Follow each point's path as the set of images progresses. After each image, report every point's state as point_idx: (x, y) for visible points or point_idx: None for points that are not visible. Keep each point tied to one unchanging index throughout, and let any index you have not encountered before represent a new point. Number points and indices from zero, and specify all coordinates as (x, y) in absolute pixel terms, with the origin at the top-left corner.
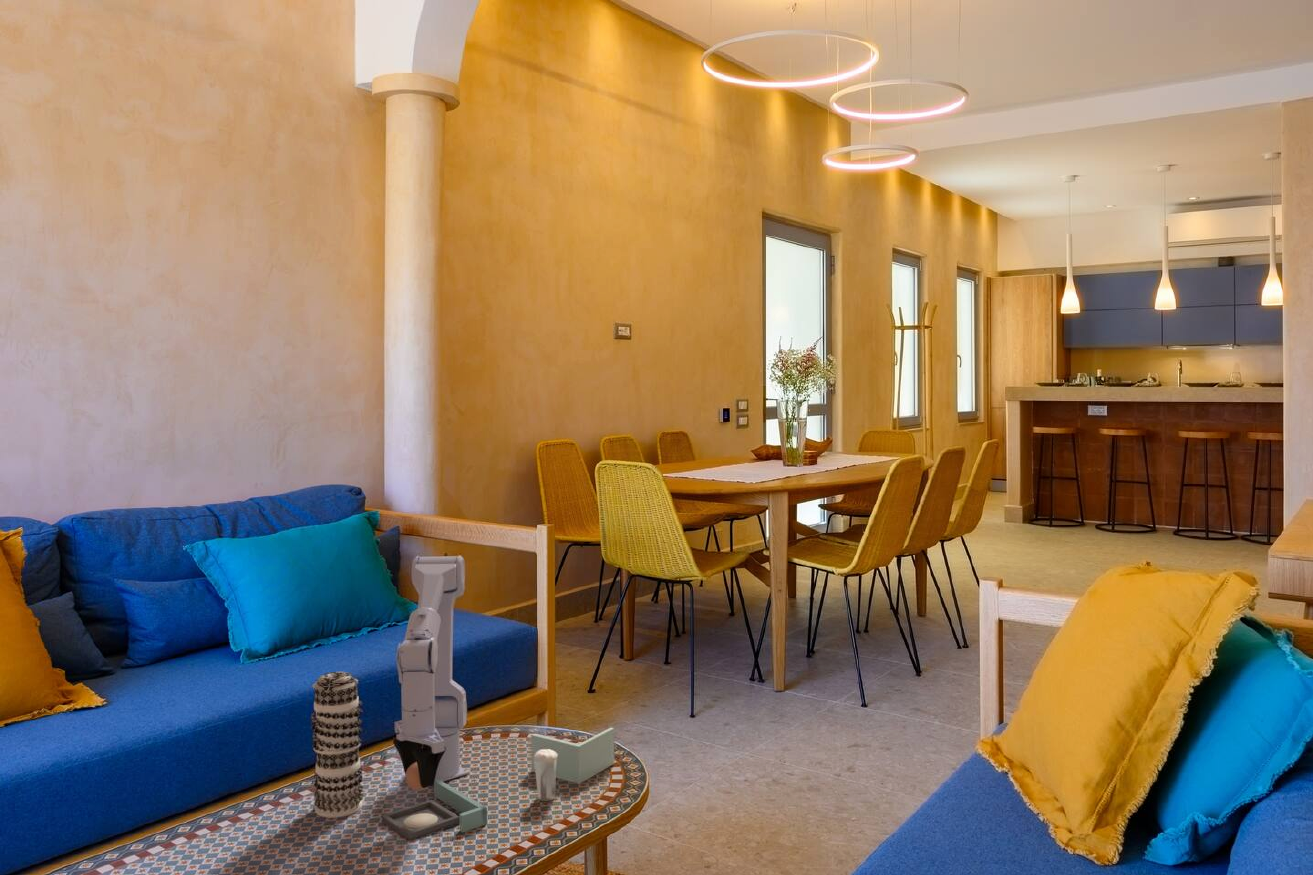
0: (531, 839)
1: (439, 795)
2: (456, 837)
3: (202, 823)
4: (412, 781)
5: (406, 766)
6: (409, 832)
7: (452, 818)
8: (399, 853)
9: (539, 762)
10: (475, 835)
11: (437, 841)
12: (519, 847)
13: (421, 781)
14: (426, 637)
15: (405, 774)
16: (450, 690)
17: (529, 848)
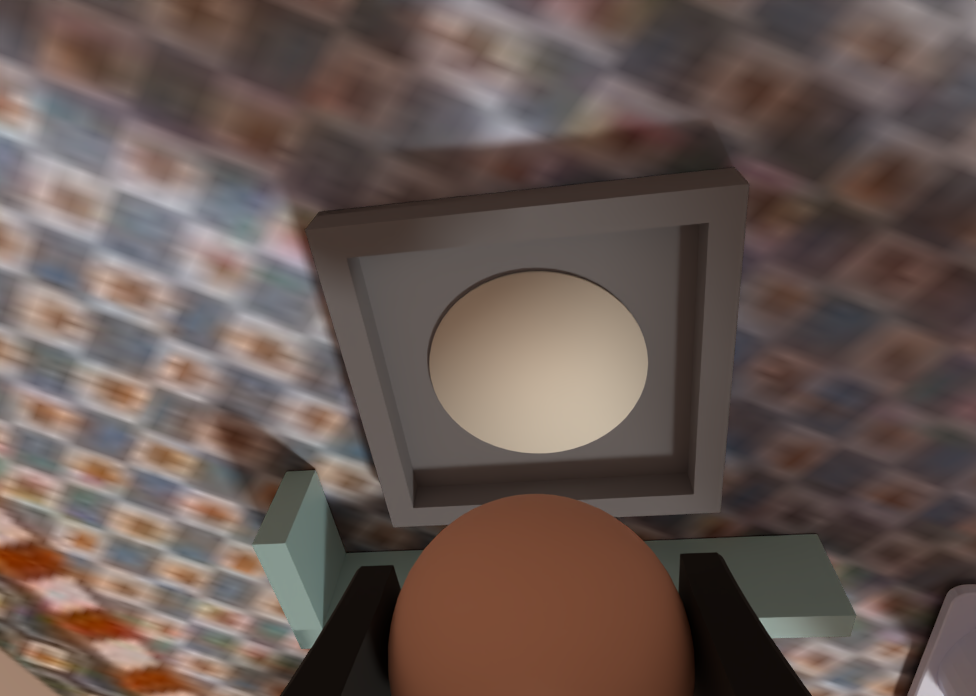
0: (99, 619)
1: (759, 554)
2: (244, 431)
3: None
4: (439, 562)
5: (724, 676)
6: (331, 244)
7: (395, 497)
8: (157, 87)
9: None
10: (228, 498)
11: (238, 343)
12: (36, 568)
13: (335, 616)
14: None
15: (726, 576)
16: None
17: (16, 587)
